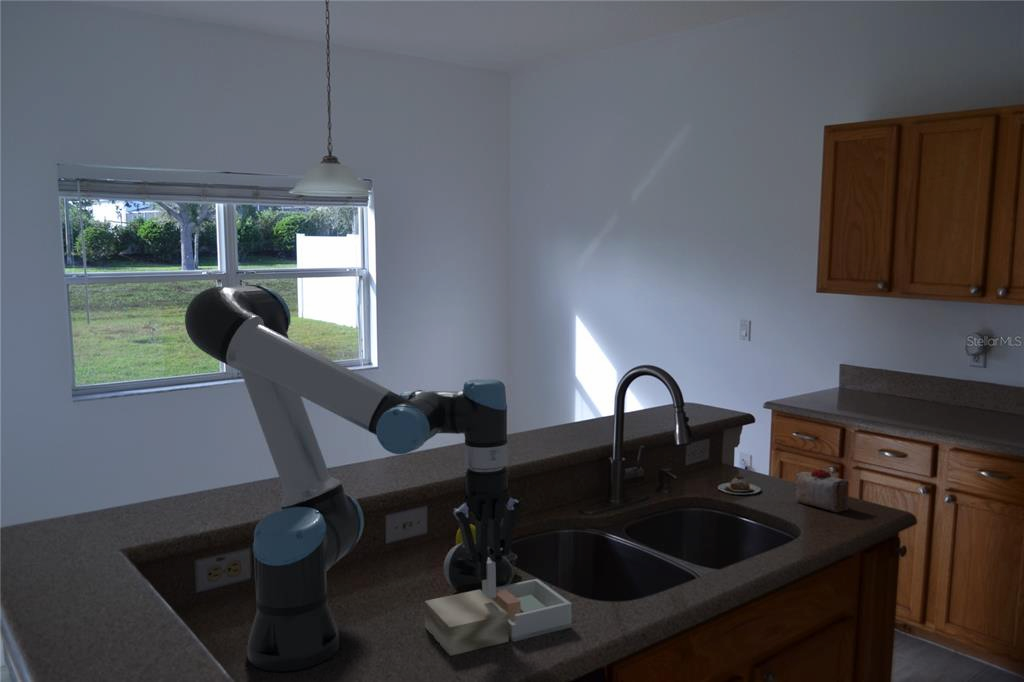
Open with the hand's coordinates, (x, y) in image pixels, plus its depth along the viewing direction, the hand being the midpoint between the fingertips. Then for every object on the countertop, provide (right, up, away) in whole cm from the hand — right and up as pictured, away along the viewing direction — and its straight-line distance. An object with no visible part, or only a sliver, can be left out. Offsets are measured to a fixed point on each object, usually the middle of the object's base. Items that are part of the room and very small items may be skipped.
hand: (489, 595), depth 143 cm
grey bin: (+7, -6, +4) cm, 10 cm away
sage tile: (+7, -3, +4) cm, 8 cm away
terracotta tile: (+2, -3, +1) cm, 4 cm away
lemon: (-6, -3, +36) cm, 37 cm away
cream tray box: (-4, -7, -1) cm, 8 cm away
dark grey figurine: (+2, -4, +27) cm, 27 cm away
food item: (+88, +1, +72) cm, 113 cm away
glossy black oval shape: (-8, 0, +19) cm, 21 cm away
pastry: (+70, +2, +87) cm, 112 cm away
